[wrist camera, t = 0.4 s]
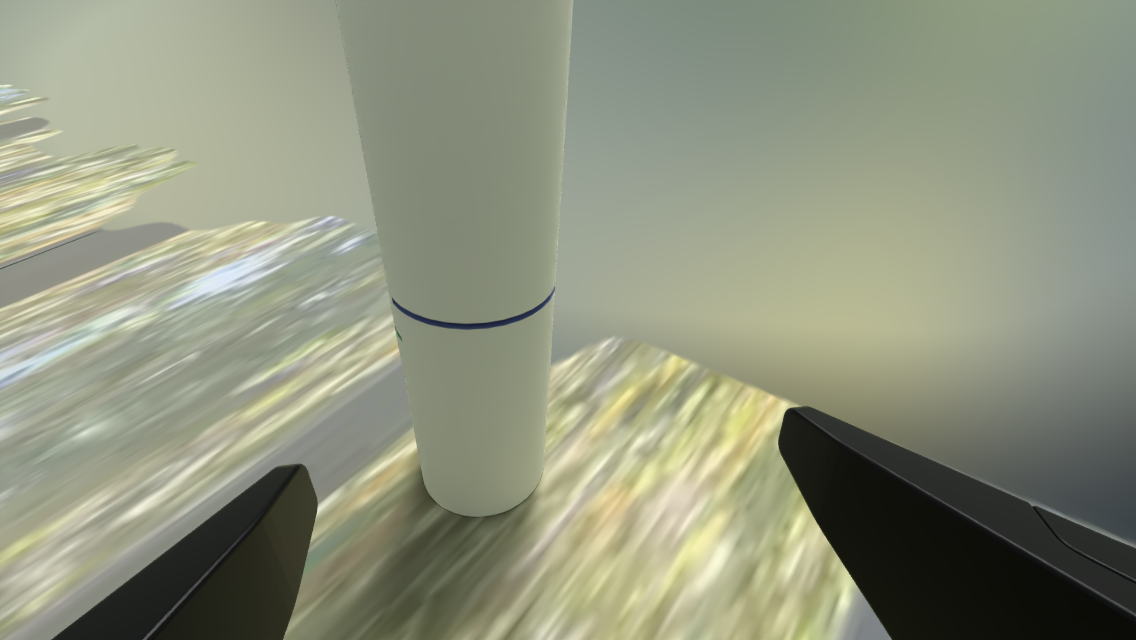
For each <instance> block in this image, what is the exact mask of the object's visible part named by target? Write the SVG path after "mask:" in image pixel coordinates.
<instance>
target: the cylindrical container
mask: <svg viewBox="0 0 1136 640" xmlns="http://www.w3.org/2000/svg"><path fill="white" fill-rule="evenodd" d="M335 1H336V7H337V12H338V17H339V23H340V29H341V34H342V40H343V45H344V51H345V56H346V62H347V67H348V73H349V78H350V84H351V89H352V95H353V100H354V106H355V111H356V116H357V122H358V128H359V133H360V138H361V144H362V149H363V155H364V160H365V166H366V170H367V177H368V182H369V187H370V193H371V199H372V204H373V210H374V215H375V220H376V226H377V232H378V237H379V243H380V248H381V254H382V259H383V265H384V270H385V276H386V281H387V286H388V292H389V297H390V303H391V308H392V314H393V319H394V324H395V330H396V336H397V341H398V346H399V352H400V357H401V363H402V368H403V373H404V379H405V384H406V389H407V395H408V400H409V406H410V411H411V416H412V422H413V427H414V432H415V438H416V443H417V449H418V454H419V459H420V465H421V470H422V476H423V481H424V485H425V487H426V489H427V491H428V493H429V494H430V496H431V497H432V498H433V499H434V501H435V502H437V503H438V504H439V505H440V506H442V507H443V508H445V509H447V510H449V511H451V512H453V513H456V514H460V515H464V516H473V517H483V516H491V515H496V514H499V513H502V512H505V511H508V510H510V509H512V508H513V507H515V506H517V505H519V504H520V503H521V502H523V501H524V500H525V499H526V498H528V496H529V495H530V494H531V493H532V492H533V491H534V490H535V488H536V486H537V485H538V483H539V481H540V479H541V476H542V473H543V468H544V455H545V439H546V424H547V409H548V394H549V378H550V360H551V344H552V328H553V311H554V294H555V278H556V263H557V262H556V261H557V248H558V232H559V217H560V216H559V215H560V200H561V185H562V171H563V155H564V139H565V123H566V108H567V91H568V74H569V58H570V41H571V26H572V8H573V0H335Z"/></svg>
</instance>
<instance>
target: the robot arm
mask: <svg viewBox="0 0 1136 640" xmlns="http://www.w3.org/2000/svg"><path fill="white" fill-rule="evenodd" d="M778 446H779V450H780V453H781V455H782V457H783V459H784V461H785V463H786V465H787V467H788V469H789V471H790V473H791V475H792V476H793V478H794V480H795V482H796V484H797V486H798V488H799V490H800V492H801V494H802V496H803V498H804V500H805V502H806V504H807V506H808V507H809V509H810V511H811V513H812V515H813V517H814V518H815V520H816V522H817V524H818V525H819V527H820V529H821V530H822V532H823V534H824V535H825V537H826V538H827V540H828V541H829V543H830V544H831V546H832V548H833V549H834V551H835V552H836V554H837V555H838V557H839V558H840V560H841V562H842V563H843V565H844V566H845V568H846V569H847V571H848V572H849V574H850V576H851V577H852V579H853V580H854V582H855V583H856V585H857V586H858V588H859V589H860V591H861V593H862V594H863V596H864V597H865V599H866V600H867V602H868V603H869V605H870V607H871V608H872V610H873V611H874V613H875V614H876V616H877V617H878V619H879V620H880V622H881V624H882V625H883V627H884V628H885V630H886V631H887V633H888V634H889V636H890V638H891V639H892V640H1136V548H1134V547H1132V546H1129V545H1127V544H1124V543H1122V542H1119V541H1117V540H1114V539H1112V538H1109V537H1107V536H1105V535H1102V534H1100V533H1098V532H1095V531H1093V530H1091V529H1088V528H1086V527H1084V526H1081V525H1079V524H1077V523H1074V522H1072V521H1070V520H1067V519H1065V518H1063V517H1060V516H1058V515H1056V514H1054V513H1051V512H1049V511H1047V510H1044V509H1042V508H1040V507H1038V506H1031V504H1030V503H1028V502H1026V501H1024V500H1021V499H1019V498H1017V497H1015V496H1012V495H1010V494H1008V493H1005V492H1003V491H1001V490H999V489H996V488H994V487H992V486H990V485H987V484H985V483H983V482H980V481H978V480H976V479H974V478H971V477H969V476H967V475H964V474H962V473H960V472H958V471H955V470H953V469H951V468H948V467H946V466H944V465H942V464H939V463H937V462H935V461H933V460H930V459H928V458H926V457H923V456H921V455H919V454H917V453H914V452H912V451H910V450H907V449H905V448H903V447H901V446H898V445H896V444H894V443H892V442H889V441H887V440H885V439H882V438H880V437H878V436H876V435H873V434H871V433H869V432H866V431H864V430H862V429H860V428H857V427H855V426H853V425H850V424H848V423H846V422H844V421H841V420H839V419H837V418H835V417H832V416H830V415H828V414H825V413H823V412H821V411H819V410H816V409H814V408H812V407H809V406H802V407H793V408H789V409H787V410H786V412H785V414H784V417H783V422H782V426H781V430H780V435H779V439H778ZM317 507H318V502H317V497H316V494H315V491H314V488H313V485H312V482H311V479H310V476H309V473H308V470H307V468H306V467H305V466H304V465H303V464H291V465H282V466H278V467H276V468H274V469H273V470H271V471H270V472H269V473H267V474H266V475H265V476H263V477H262V478H261V479H260V480H258V481H257V482H256V483H254V484H253V485H252V486H250V487H249V488H248V489H247V490H245V491H244V492H243V493H241V494H240V495H239V496H237V497H236V498H235V499H234V500H232V501H231V502H230V503H228V504H227V505H226V506H224V507H223V508H222V509H221V510H219V511H218V512H217V513H215V514H214V515H213V516H211V517H210V518H209V519H208V520H206V521H205V522H204V523H202V524H201V525H200V526H198V527H197V528H196V529H195V530H193V531H192V532H191V533H189V534H188V535H187V536H185V537H184V538H183V539H182V540H180V541H179V542H178V543H176V544H175V545H174V546H172V547H171V548H170V549H169V550H167V551H166V552H165V553H163V554H162V555H161V556H159V557H158V558H157V559H156V560H154V561H153V562H152V563H150V564H149V565H148V566H146V567H145V568H144V569H143V570H141V571H140V572H139V573H137V574H136V575H135V576H133V577H132V578H131V579H130V580H128V581H127V582H126V583H124V584H123V585H122V586H120V587H119V588H118V589H116V590H115V591H114V592H113V593H111V594H110V595H109V596H107V597H106V598H105V599H103V600H102V601H101V602H100V603H98V604H97V605H96V606H94V607H93V608H92V609H90V610H89V611H88V612H87V613H85V614H84V615H83V616H81V617H80V618H79V619H77V620H76V621H75V622H74V623H72V624H71V625H70V626H68V627H67V628H66V629H64V630H63V631H62V632H61V633H59V634H58V635H57V636H55V637H54V638H53V639H51V640H283V638H284V635H285V632H286V630H287V627H288V624H289V621H290V618H291V615H292V612H293V609H294V606H295V602H296V599H297V595H298V591H299V587H300V583H301V579H302V575H303V570H304V566H305V562H306V557H307V553H308V549H309V544H310V540H311V536H312V531H313V527H314V523H315V518H316V514H317Z"/></svg>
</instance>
